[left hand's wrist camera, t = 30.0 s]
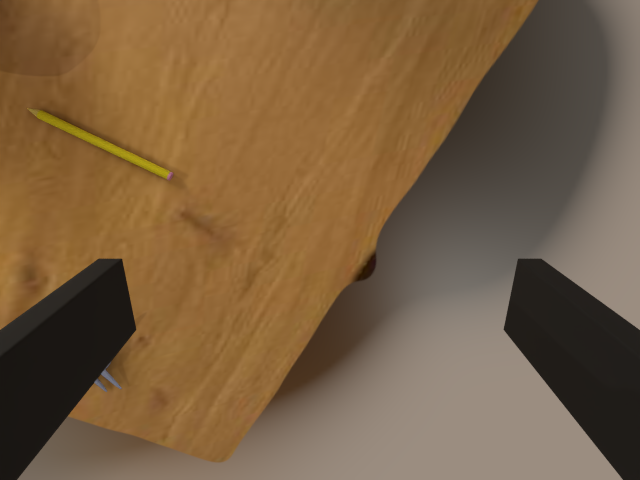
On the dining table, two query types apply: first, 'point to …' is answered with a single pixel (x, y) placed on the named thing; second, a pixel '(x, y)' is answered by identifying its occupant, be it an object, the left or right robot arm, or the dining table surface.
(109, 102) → the dining table surface
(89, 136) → the pencil
